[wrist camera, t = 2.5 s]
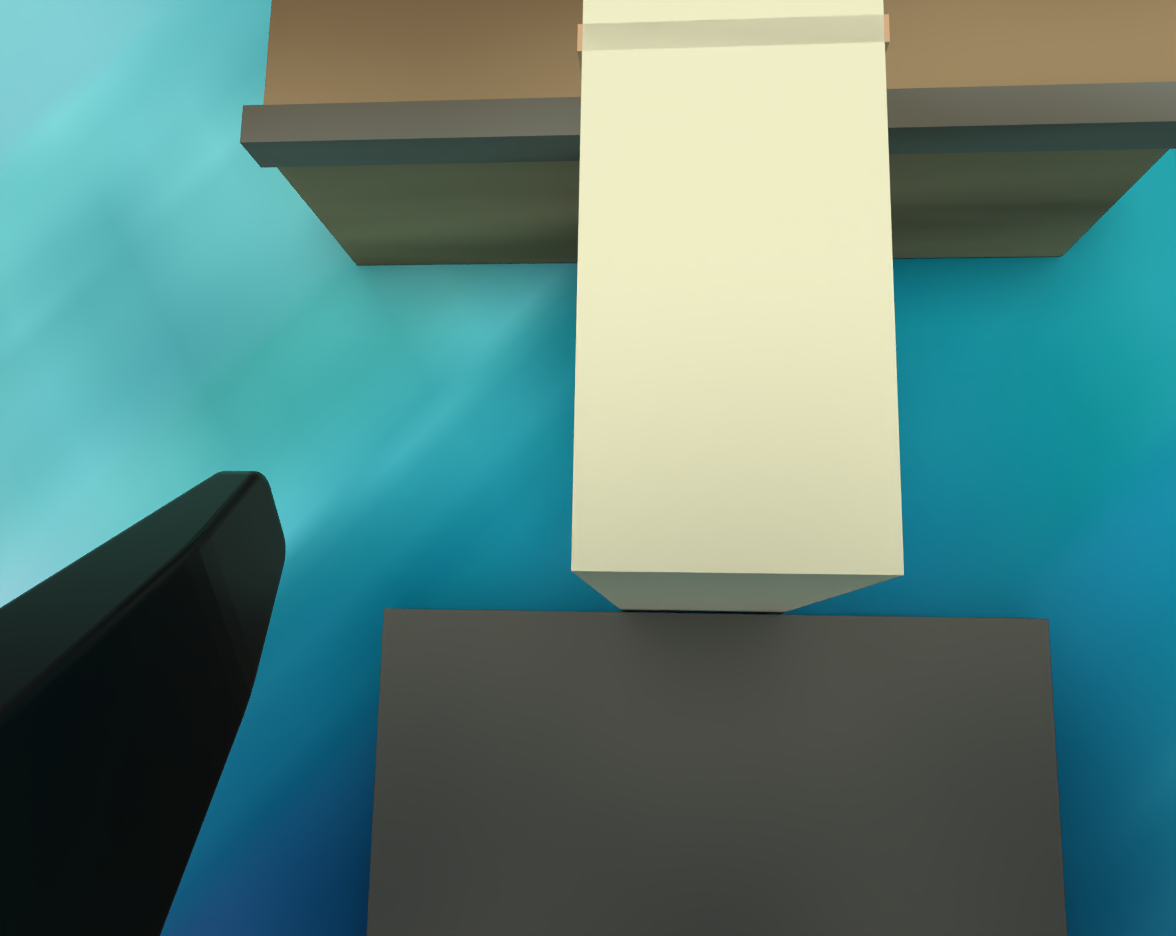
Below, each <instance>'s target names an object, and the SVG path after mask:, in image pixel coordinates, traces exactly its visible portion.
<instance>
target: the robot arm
mask: <svg viewBox="0 0 1176 936" xmlns="http://www.w3.org/2000/svg"><path fill="white" fill-rule="evenodd" d="M284 561H285V538H284V534H283V531H282V527H281V523H280V520H279V516H278V513H277V509H276V506H275V502H274V499H273V495H272V492H271V488H270V485H269V483H268V480H267V479H266V477H265V476H264V475H263V474H261V473H260V472H257V471H222V472H218V473H216V474H214V475H213V476H211V477H210V478H208V479H206V480H205V481H203V482H202V483H200V484H198V485H197V486H195V487H194V488H192V489H190V490H189V491H187V492H186V493H184V494H182V495H181V496H179V497H177V498H176V499H174V500H173V501H171V502H169V503H168V504H166V505H165V506H163V507H161V508H160V509H158V510H157V511H155V512H153V513H152V514H150V515H149V516H147V517H145V518H144V519H142V520H141V521H139V522H137V523H136V524H134V525H133V526H131V527H129V528H128V529H126V530H125V531H123V532H121V533H120V534H118V535H117V536H115V537H113V538H112V539H110V540H109V541H107V542H105V543H104V544H102V545H100V546H99V547H97V548H96V549H94V550H92V551H91V552H89V553H88V554H86V555H84V556H83V557H81V558H80V559H78V560H76V561H75V562H73V563H72V564H70V565H68V566H67V567H65V568H64V569H62V570H60V571H59V572H57V573H56V574H54V575H52V576H51V577H49V578H48V579H46V580H44V581H43V582H41V583H40V584H38V585H36V586H35V587H33V588H31V589H30V590H28V591H27V592H25V593H23V594H22V595H20V596H19V597H17V598H15V599H14V600H12V601H11V602H9V603H7V604H6V605H4V606H3V607H1V608H0V936H160V934H161V931H162V929H163V926H164V923H165V921H166V918H167V915H168V913H169V910H170V908H171V905H172V902H173V900H174V897H175V894H176V892H177V889H178V887H179V884H180V881H181V879H182V876H183V873H184V871H185V868H186V866H187V863H188V860H189V858H190V855H191V852H192V850H193V847H194V845H195V842H196V839H197V837H198V834H199V831H200V829H201V826H202V823H203V821H204V818H205V816H206V813H207V810H208V808H209V805H210V802H211V800H212V797H213V795H214V792H215V789H216V787H217V784H218V781H219V779H220V776H221V774H222V771H223V768H224V766H225V763H226V760H227V758H228V755H229V753H230V750H231V747H232V745H233V742H234V739H235V737H236V734H237V732H238V729H239V726H240V724H241V721H242V718H243V716H244V713H245V710H246V707H247V704H248V701H249V698H250V695H251V692H252V688H253V685H254V681H255V678H256V674H257V670H258V666H259V662H260V658H261V654H262V650H263V646H264V642H265V638H266V634H267V630H268V626H269V622H270V618H271V614H272V610H273V606H274V602H275V598H276V594H277V590H278V586H279V582H280V578H281V574H282V570H283V566H284Z"/></svg>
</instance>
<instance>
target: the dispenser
mask: <svg viewBox="0 0 1176 936" xmlns="http://www.w3.org/2000/svg"><path fill="white" fill-rule="evenodd" d="M883 8H884V14H889V31H890V43H889V46H888V48H887V51H886V54H885V63H886V91H887V119H888V147H889V174H890V202H891V230H892V258H957V257H1037V256H1063V255H1064V254H1065V253H1066V252H1067V251H1068V250H1069V249H1070V248H1071V247H1072V246H1073V245H1074V244H1075V243H1076V242H1077V241H1078V240H1079V239H1080V238H1081V237H1082V236H1083V235H1084V234H1085V233H1086V232H1087V231H1088V230H1089V229H1090V228H1091V227H1092V226H1093V225H1094V224H1095V223H1096V222H1097V221H1098V220H1099V219H1100V218H1101V217H1102V216H1103V215H1104V214H1105V213H1106V212H1107V211H1108V210H1109V209H1110V208H1111V207H1112V206H1113V205H1114V204H1115V203H1116V202H1117V201H1118V200H1119V199H1120V198H1121V197H1122V196H1123V195H1124V194H1125V193H1126V192H1127V191H1128V190H1129V189H1130V188H1131V187H1132V186H1133V185H1134V184H1135V183H1136V182H1137V181H1138V180H1139V179H1140V178H1141V177H1142V176H1143V175H1144V174H1145V173H1146V172H1147V171H1148V170H1149V169H1150V168H1151V167H1152V166H1153V165H1154V164H1155V163H1156V162H1157V161H1158V160H1159V159H1160V158H1161V157H1162V156H1163V155H1164V154H1165V153H1166V152H1167V151H1168V150H1169V149H1176V0H883ZM578 24H583V0H272V5H271V17H270V30H269V42H268V55H267V67H266V80H265V92H264V105H244V106H243V113H242V125H241V137H240V143H241V144H242V145H243V147H244V148H245V149H246V150H247V151H248V152H249V154H250V155H251V156H252V157H253V158H254V160H255V161H256V162H257V163H258V164H259V165H260V167H277V168H278V169H279V170H280V172H281V173H282V174H283V175H284V176H285V178H286V179H287V180H288V181H289V183H290V184H291V185H292V186H293V187H294V189H295V190H296V191H297V192H298V194H299V195H300V196H301V197H302V199H303V200H304V201H305V202H306V203H307V205H308V206H309V207H310V208H311V210H312V211H313V212H314V213H315V214H316V216H317V217H318V218H319V219H320V221H321V222H322V223H323V224H324V225H325V227H326V228H327V229H328V230H329V232H330V233H331V234H332V235H333V236H334V238H335V239H336V240H337V241H338V243H339V244H340V245H341V246H342V247H343V249H344V250H345V251H346V252H347V254H348V255H349V256H350V257H351V258H352V260H353V261H354V262H355V263H356V265H399V264H479V263H558V262H578V224H579V176H580V128H581V81H582V79H581V72H580V66H579V59H578V53H577V37H578Z"/></svg>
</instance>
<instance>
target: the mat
mask: <svg viewBox="0 0 1176 936" xmlns="http://www.w3.org/2000/svg"><path fill="white" fill-rule="evenodd" d="M367 936H1067V923H1066V906H1065V890H1064V873H1063V857H1062V840H1061V824H1060V807H1059V790H1058V774H1057V757H1056V741H1055V724H1054V707H1053V691H1052V674H1051V658H1050V641H1049V625H1048V619H1024V618H960V617H896V616H832V615H768V614H704V613H640V612H576V611H511V610H447V609H384V615H383V634H382V653H381V672H380V691H379V710H378V728H377V747H376V766H375V785H374V804H373V823H372V842H371V861H370V880H369V899H368V918H367Z"/></svg>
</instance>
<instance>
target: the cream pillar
mask: <svg viewBox="0 0 1176 936" xmlns="http://www.w3.org/2000/svg"><path fill="white" fill-rule="evenodd" d="M889 43H890V31H889V14H884V8H883V0H583V24H578V37H577V53H578V59H579V66H580V72H581V79H582V81H581V128H580V176H579V224H578V272H577V320H576V367H575V415H574V463H573V511H572V559H571V571H572V572H573V573H574V574H576V575H577V576H578V577H580V578H581V579H582V580H583V581H585V582H586V583H587V584H589V585H590V586H591V587H592V588H594V589H595V590H596V591H598V592H599V593H600V594H601V595H603V596H604V597H605V598H607V599H608V600H609V601H610V602H612V603H613V604H614V605H616V606H617V607H618V608H619V609H621V610H629V611H694V612H759V613H783V612H787V611H790V610H793V609H796V608H800V607H803V606H806V605H809V604H812V603H816V602H819V601H822V600H825V599H829V598H832V597H835V596H838V595H841V594H845V593H848V592H851V591H854V590H857V589H861V588H864V587H867V586H870V585H874V584H877V583H880V582H883V581H886V580H890V579H893V578H896V577H899V576H903V575H904V563H903V535H902V507H901V480H900V452H899V424H898V396H897V368H896V341H895V313H894V285H893V258H892V230H891V202H890V174H889V147H888V119H887V91H886V63H885V54H886V51H887V48H888V46H889Z"/></svg>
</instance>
